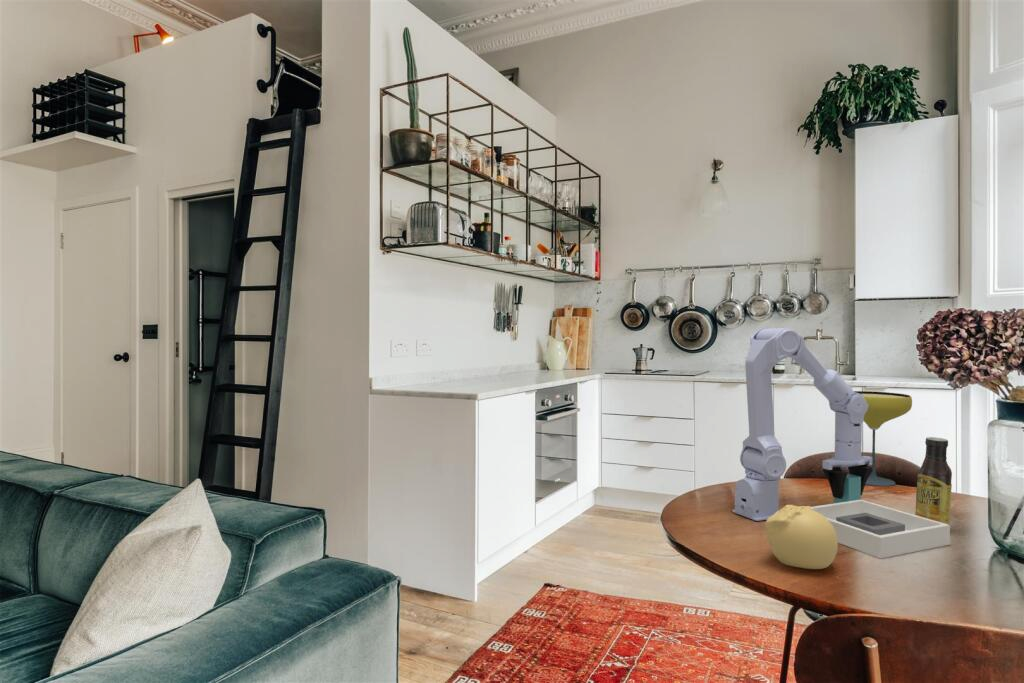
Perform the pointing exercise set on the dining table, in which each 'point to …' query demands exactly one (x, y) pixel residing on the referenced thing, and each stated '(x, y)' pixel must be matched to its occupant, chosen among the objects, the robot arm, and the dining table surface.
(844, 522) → the box
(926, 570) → the dining table surface
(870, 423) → the cocktail glass
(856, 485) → the block
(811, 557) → the sculpture
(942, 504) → the sauce bottle
